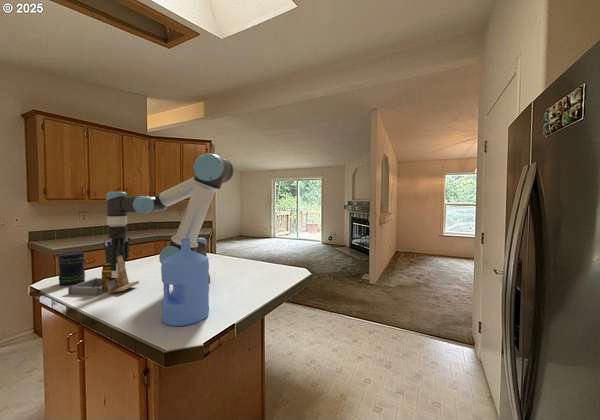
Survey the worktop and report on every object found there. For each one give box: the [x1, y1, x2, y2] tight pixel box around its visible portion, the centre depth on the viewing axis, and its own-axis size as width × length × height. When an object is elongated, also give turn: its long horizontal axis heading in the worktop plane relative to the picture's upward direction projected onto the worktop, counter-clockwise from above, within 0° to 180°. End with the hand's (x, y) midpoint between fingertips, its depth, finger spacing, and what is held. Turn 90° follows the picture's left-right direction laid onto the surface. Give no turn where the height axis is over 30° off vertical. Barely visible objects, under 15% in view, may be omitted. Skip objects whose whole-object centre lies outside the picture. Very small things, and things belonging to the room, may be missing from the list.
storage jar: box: [57, 250, 86, 287], centre depth 129 cm, size 10×10×15 cm
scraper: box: [106, 254, 140, 294], centre depth 119 cm, size 7×10×15 cm
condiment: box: [100, 263, 116, 293], centre depth 121 cm, size 7×8×12 cm
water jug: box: [160, 239, 210, 327], centre depth 93 cm, size 16×16×28 cm
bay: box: [67, 277, 102, 296], centre depth 120 cm, size 14×14×3 cm
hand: (118, 276), depth 119 cm, fingers closed on scraper, 3 cm apart
